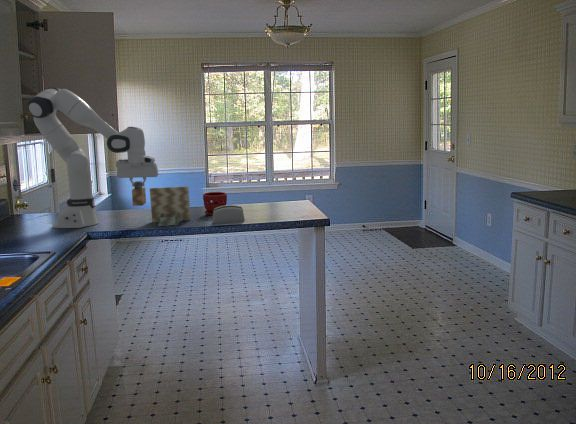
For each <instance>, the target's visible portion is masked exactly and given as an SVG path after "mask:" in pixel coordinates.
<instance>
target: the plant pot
mask: <svg viewBox="0 0 576 424" xmlns="http://www.w3.org/2000/svg"><path fill="white" fill-rule="evenodd" d="M227 195H228V194H227V192H222V191H211V192H210V191H209V192H205V193H204V192H203V194H202V199H203V206H204V209H205V210H204V213H205V215H207V216H211V217H213V210H214V208H217V207H220V206H224V205H227V203H228V202H227V201H228V197H227Z"/></svg>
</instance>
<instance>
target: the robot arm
mask: <svg viewBox="0 0 576 424" xmlns="http://www.w3.org/2000/svg"><path fill="white" fill-rule="evenodd" d="M26 107H27V110H28V112H29V114H30V115H32V117H33V122H34V124H35V126H36V128H37V129H38V131H39V132H40V134H41V135H42V137H44V139H45V140H46V141H47V142H48V144H49V145H50V146H51V147H52V149H53V150H54V151H55V152H56V153H57V155H58V156H59V157H60V158H61V159H62V160H63V162H65V164H66V170H67V178H68V189H69V197H70V198H68V200H66V205H67V206H66V207H65V208H64V209H62V211H61V212H59V213H58V214H57V218H56V223H54V224H53V225H52V229H74V228H75V229H79V228H85V227H91V226H95V225H98V224H99V219H98V218H97V215H96V214H97V213H96V211H95V207H96V205H95V198H94V195H93V189H92V188H93V186H92V176H91V175H92V174H91V162H90V158H89V157H88V155H87V153H86V152H85V151H84V149H83V148H82V147H81V146H80V145H79V143H78V142H77V140H76V139H74V137H73V136H72V134H71V133H70V132H69V131H68V129H67V128H66V127H65V126H64V124H63V123H62V122H61V121H60V120H59V118H58V116H57V112H61V113H63V114H64V115H65V116H66V117H68V118H69V119H70V120H72V121H73V122H75V123H76V124H78V125H80V126H83V127H87V128H91V129H92V130H95V131H96V132H97V133H99V134H100V135H102V136H103V137H104V138H105V139H106V146H107V148H108V150H109V151H111V152H112V153H114V154H120V153H121V154H122V153H126V152H127V153H126V154H127V158H126V159H118V160H117V161H116V162H115V167H116V168H117V169H116V177H117V178H118V179H128V178H129V181H130V183H131V186H132V187H133V188H135V186H134V178H135V179H137V178H139V179H140V178H142V180H143V181H142V183H141V186H142V187H145V186H146V185H145V183H146V182H147V178H158V176H159V169H158V165H157V163H156V162H155V161H156V158H155V157H152V156H150V155H146V149H145V146H146V141H145V133H144V130H143V129H142V128H141V127H137V126H127V127H126V128H124V129H123V130H121V131H118V130H117V129H115V128H114V127H112V125H110V124H109V123H107V122H106V121H105V120H104V119H102V118H101V117H100V116H99V115H98V114H97V112H96V111H95V110H94V109H93V108H92V107H91V106H90V105H89V104H88V103H87V102H86V101H85V100H84V99H82V98H81V97H80V96H78V95H77V94H75V93H74V92H73V91H71V90H70V89H67V88H59V87H55V86H52V87H48V88H47V89H44V90H42V91H40V92H39V93H37V94H36V95H35V96H33V97H31V98H30V99H29V100H28V102H27V105H26Z"/></svg>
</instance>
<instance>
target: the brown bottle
mask: <svg viewBox="0 0 576 424" xmlns="http://www.w3.org/2000/svg"><path fill="white" fill-rule="evenodd" d="M133 182H134V181H133ZM141 183H143V181H141V180H140V181H139V180H137V181H135V182H134V186H135V187H133V189H131V196H132V197H131V198H132V199H131V201H132V206H133V207H134V206H135V207H138V206H139V207H140V206H144V205H145V204H147V197H146V196H147V195H146V193H147V192H146V187H145V186H141Z"/></svg>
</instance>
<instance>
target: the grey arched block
mask: <svg viewBox="0 0 576 424" xmlns="http://www.w3.org/2000/svg"><path fill="white" fill-rule="evenodd" d="M211 220H212V222H211V223H212V224H223V223H222V222H226V223H239V222H245V220H246V219H245V213H244V208H243V206H240V205H235V204H226V205H224V206H220V207H217V208H214V210H213V216H212V217H211Z"/></svg>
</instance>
